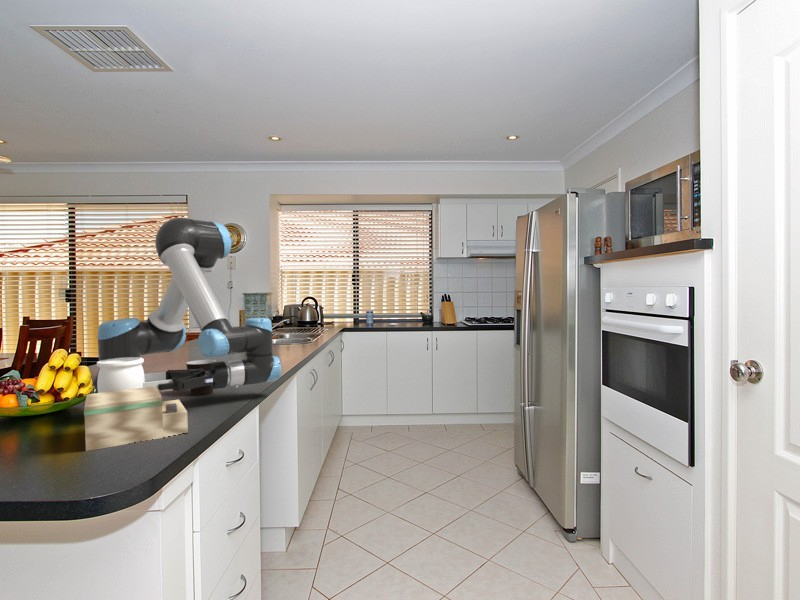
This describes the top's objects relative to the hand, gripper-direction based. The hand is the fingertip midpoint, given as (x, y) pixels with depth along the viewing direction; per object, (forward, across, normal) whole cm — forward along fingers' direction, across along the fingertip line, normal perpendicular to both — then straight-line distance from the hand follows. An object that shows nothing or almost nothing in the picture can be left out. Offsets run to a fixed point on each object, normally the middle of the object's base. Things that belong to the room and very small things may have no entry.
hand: (140, 383), depth 117 cm
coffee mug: (-19, +19, -9) cm, 28 cm away
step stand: (+2, -17, -8) cm, 19 cm away
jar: (+4, 0, -9) cm, 10 cm away
